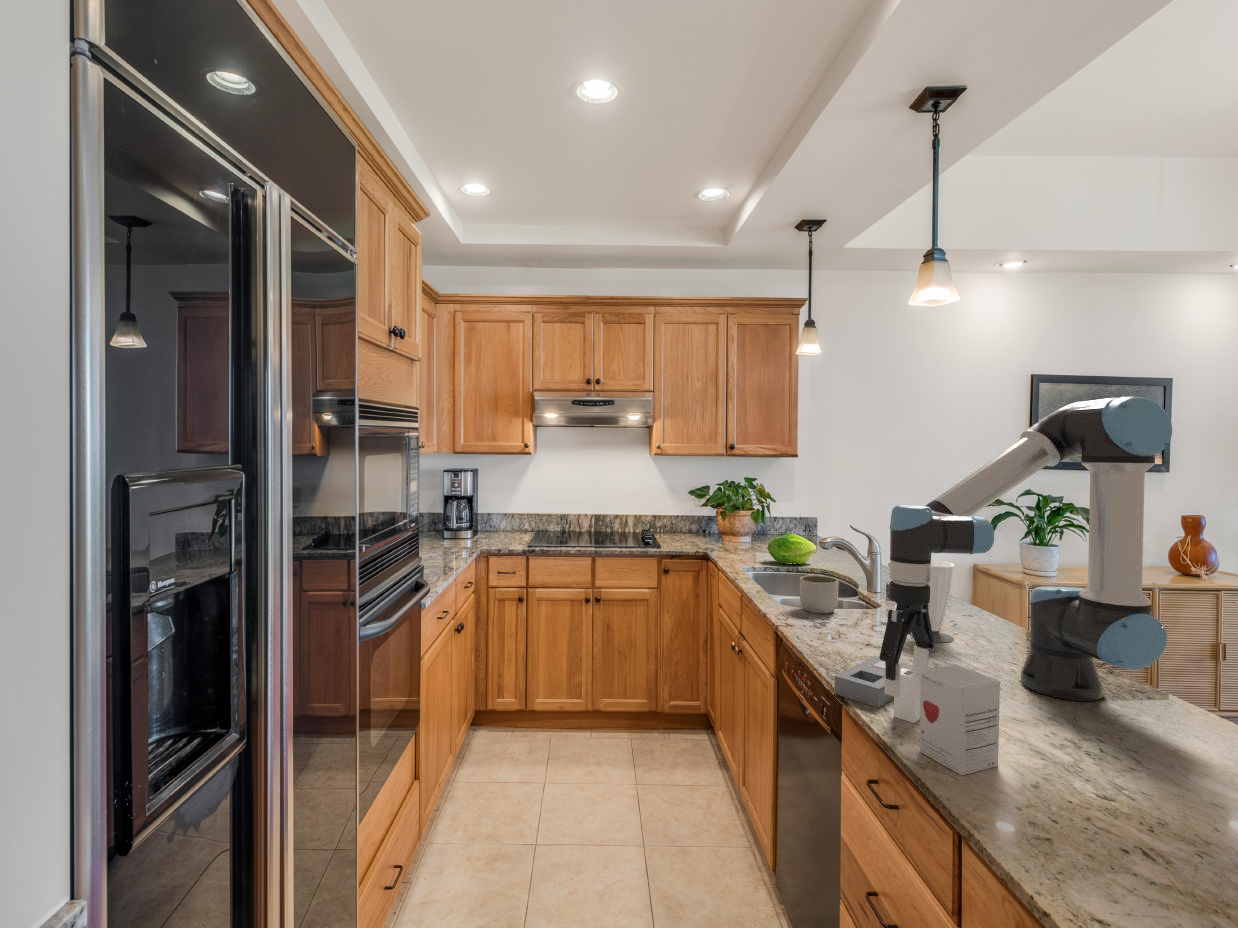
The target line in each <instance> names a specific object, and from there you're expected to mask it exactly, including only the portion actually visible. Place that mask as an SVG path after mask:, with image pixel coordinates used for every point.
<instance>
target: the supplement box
mask: <svg viewBox="0 0 1238 928" xmlns="http://www.w3.org/2000/svg"><path fill="white" fill-rule="evenodd" d="M1000 694H1001V681H1000V680H998V679H995V678H993V677H991V676H987V675H985V674H982V673H980V672H978V671H975V670H972V669H969V668H967V667H964V666H962V665H960V664H957V663H954V664H950V665H949V664H948V665H942V666H939V667H928V669H923V670H921V688H920V719H919V753H921V754H923V755H925V756H927V757H929V758H931V759H932V760H934V761H935V762H937V763H939V764H940V765H942V766H944V767H946V768H948V769H950V770H951V771H953V772H955V773H956V774H958V775H960V776H965V775H969V774H972V773H977V772H982V771H985V770H988V769H992V768H995V767H998V766H999V744H1000V743H999V741H1000V739H999V738H1000V736H999V735H1000V701H1001V700H1000Z"/></svg>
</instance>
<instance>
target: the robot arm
mask: <svg viewBox="0 0 1238 928" xmlns="http://www.w3.org/2000/svg"><path fill="white" fill-rule="evenodd" d="M1172 424H1173V423H1172V420H1171V418H1170V415H1169V414H1168V413H1167V411H1166V410H1165V408H1163V407H1161V405H1159V403H1157V402H1156V401H1154V400H1152V399H1150V398H1149V397H1144V396H1124V395H1123V396H1115V397H1110V398H1101V399H1094V400H1093V399H1092V400H1081V401H1076V402H1073V403H1069V404H1066V405H1064V406H1063V407H1061V408H1059V409H1057V410H1055V411H1053V412H1051V413H1050V414H1048V415H1047V416H1044V417H1043V418H1042V419H1040V420H1039V421H1038V422H1036V423H1034V424H1033V425H1031V426H1030V427H1028V429H1026V430H1024V431H1023V432H1021V434H1020V436H1019V440H1018V441H1017V442H1015V443H1014V444H1012V445H1011V446H1009V447H1008V448H1006V449H1005V450H1004V451H1002V452H1001V453H999V454H998V455H996V456H995V457H993V458H992V459H991V460H989V461H987V462H986V463H984V464H983V465H982V466H981V467H979V468H978V469H977V470H974V471H973V472H972V473H970V474H969V475H968V476H966V477H965V478H963V479H962V480H960V481H959V482H958V483H956V484H955V485H953V486H951V487H950V488H949V489H947V490H946V491H944V492H943V493H941V495H939V496H937V497H936V498H934V499H933V500H932V501H930V502H929V503H927V504H925V505H914V504H913V505H909V504H901V505H900V504H899V505H895V506H894V507H893V508H892V509H891V516H890V525H889V529H890V532H889V533H890V534H889V535H890V536H889V537H890V538H889V542H890V543H889V545H890V546H889V547H890V550H889V562H888V564H887V566H888V568H889V579H891V581H889V583H888V598H889V600H890V601H891V602H894V603H895V604H896V608H895V610H893V609H888V611H887V612H888V613H887V622H886V627H885V630H884V635H883V640H882V643H881V647H880V653H879V658H880V660H882V661H885V690H884V694H888V695H891V696H894V697H897V698H899V697H900V677H901V663H898V662H900V659H901V655H902V653H903V650H904V647H905V643H906V640H907V637H908V635H910V633H911V632H912V635H913V637H914V638H913V637H912V638H913V639H914V642H915V645H914V646H913V664H912V665H913V671H916V672H920V673H921V670H923V669H928V668H929V660H930V659H929V657H930V656H929V653H930V651H929V650H930V649H931V650H934V648H935V647H934V646H935V644H934V638H933V633H932V628H931V623H930V617H929V610H928V603H929V602H930V586H929V585H928V584H927V583H929V582H931V560H932V554H965V555H966V554H968V555H975V554H985V553H988V552H989V551H990V550H991V549H992V548H993V545H994V542H995V530H994V527H993V525H992V523H991V521H990V520H989V519H987V518H986V517H983V516H975V515H976V514H977V513H979V512H981V511H982V510H983V509H985V508H987V507H988V506H989V505H991V504H992V503H994V502H995V501H996V500H998V499H1000V498H1001V497H1002V496H1004V495H1006V494H1007V493H1008V492H1009V491H1011V490H1013V489H1014V488H1016V487H1017V486H1018V485H1020V484H1021V483H1022V482H1024V481H1026V480H1027V479H1029V478H1030V477H1031V476H1033V475H1035V474H1036V473H1038V471H1040V470H1042V469H1044V468H1045V467H1046V466H1047V467H1054V466H1057V465H1058V464H1060V462H1062V461H1064V460H1067V459H1069V458H1074V457H1076V456H1080V457H1081V460H1080V461H1081V462H1080V464H1081V465H1082V466H1083V467H1085V468H1086V469H1087V470H1088V471H1089V474H1090V475H1089V510H1088V511H1089V515H1088V516H1089V517H1088V521H1089V522H1088V561H1087V562H1088V563H1087V565H1088V566H1087V569H1088V570H1087V571H1088V572H1087V586H1086V587H1077V586H1076V587H1075V586H1074V587H1073V586H1053V585H1052V586H1051V585H1050V586H1037V587H1035V588H1033V589H1032V591H1031V596H1030V602H1029V605H1030V629H1029V630H1030V634H1029V635H1030V638H1029V639H1030V641H1029V642H1030V649H1029V651H1028V653H1027V656H1026V658H1025V659H1026V660H1025V661H1024V664H1023V665H1022V668H1021V671H1020V682H1021V684H1022V685H1023V686H1024V687H1026V688H1027V689H1029V690H1032V691H1034V692H1036V693H1039V694H1042V695H1046V696H1049V697H1053V698H1057V699H1062V700H1067V701H1068V700H1070V701H1077V702H1078V701H1079V702H1091V701H1092V702H1094V701H1098V700H1101V699H1102V698H1103V697H1104V685H1103V682H1102V679H1101V677H1100V674H1099V671H1098V668H1097V666H1096V663H1095V659H1096V660H1098V661H1101V662H1103V663H1104V664H1106V665H1109V666H1112V667H1117V668H1120V669H1123V670H1128V671H1138V670H1142V669H1143V670H1144V669H1146V668H1148V667H1150V666H1151V665H1153V664H1154V662H1155V661H1158V660H1159V659H1160V658H1161V657H1162V656H1163V654H1164V653H1165V651H1166V648H1167V643H1168V634H1167V633H1168V632H1167V629H1166V627H1165V626H1164V625H1163V624H1162V621H1160V620H1159V619H1158V618H1157V617H1155V616H1154V615H1152V611H1153V610H1152V609H1153V608H1152V606H1153V605H1152V601H1151V599H1150V598H1148V597H1147V596H1146V595H1145V594H1144V593H1143V589H1142V588H1143V562H1144V561H1143V557H1144V555H1143V554H1144V522H1145V521H1144V519H1145V518H1144V515H1145V514H1144V511H1145V474H1146V472H1147V471H1148V470H1150V469H1151V468H1152V467H1154V466H1155V465H1156V455H1157V454H1159V453H1160V452H1162V451H1164V450H1165V448H1166V447H1167V446H1166V445H1169V444H1170V442H1171V439H1172V437H1173V425H1172ZM927 635H928V636H927Z"/></svg>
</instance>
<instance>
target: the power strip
mask: <svg viewBox="0 0 1238 928" xmlns="http://www.w3.org/2000/svg"><path fill="white" fill-rule="evenodd" d="M879 657H880V655H879V656H878V655H874V656H872V657H870V658H869V659H866V660H863V661H862V662H859V663H858V664H855V665H854V666H852V667H850V668H848V669H846V670H843V671H841V672H840V673H837V674H836V675H834V691H833V692H834V695H837V696H840V697H844V698H846V699H850V700H853V701H857V702H859V703H863V704H867V705H869V706H873V707H876V708H881V707H882V706H885V705H886V704H888V703H889V702H891V701H892V700H894V696H891V695H888V694H884V690H885V661H882V660H880V658H879ZM898 663H901V669H902V668H905V669H909V670H913V664H911V663H907V662H903V661H899V662H898Z"/></svg>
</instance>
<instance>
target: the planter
mask: <svg viewBox="0 0 1238 928" xmlns="http://www.w3.org/2000/svg"><path fill="white" fill-rule="evenodd" d="M799 601H800V604H801V607H802V609H804V611H806V612H807V613H808V612H809V613H811V614H819V615H826V614H828V615H829V614H831V613H833V612H834V611H835V610H836V609H837V606H838V602H839V579H837V578H836V577H831V576H826V575H813V574H812V575H803V576H800V577H799Z"/></svg>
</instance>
